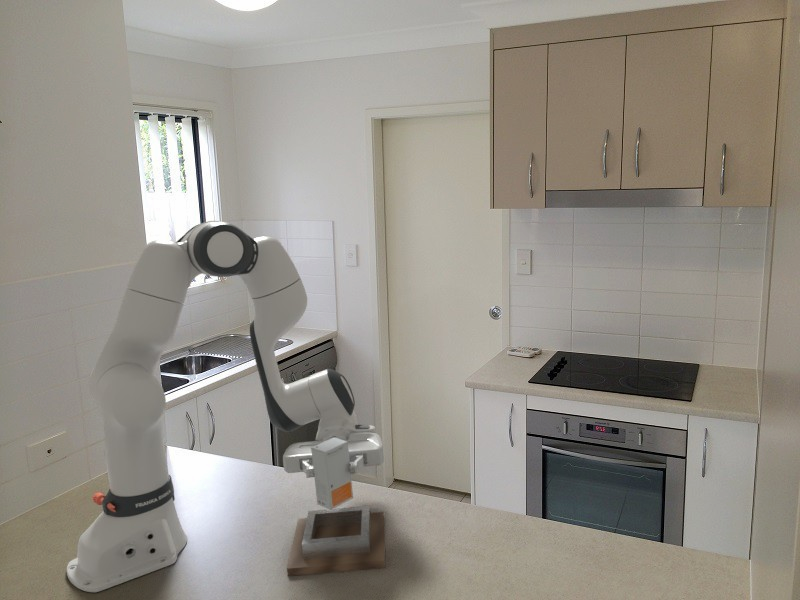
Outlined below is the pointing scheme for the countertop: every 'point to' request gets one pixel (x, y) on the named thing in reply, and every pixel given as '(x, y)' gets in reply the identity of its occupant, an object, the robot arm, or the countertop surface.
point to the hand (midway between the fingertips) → (331, 472)
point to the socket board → (338, 541)
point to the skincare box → (332, 473)
